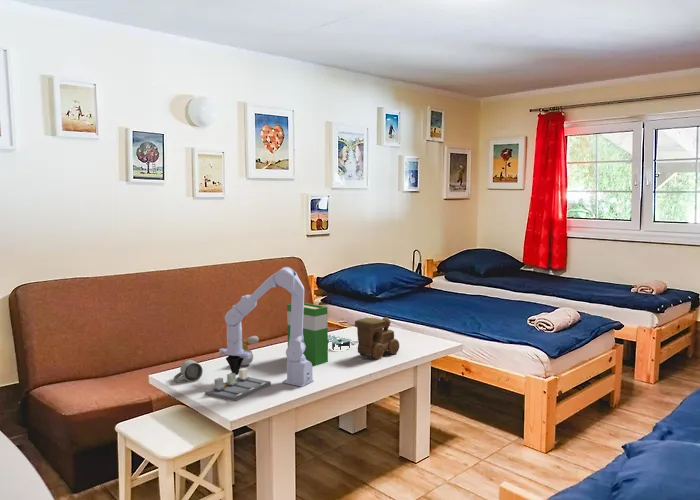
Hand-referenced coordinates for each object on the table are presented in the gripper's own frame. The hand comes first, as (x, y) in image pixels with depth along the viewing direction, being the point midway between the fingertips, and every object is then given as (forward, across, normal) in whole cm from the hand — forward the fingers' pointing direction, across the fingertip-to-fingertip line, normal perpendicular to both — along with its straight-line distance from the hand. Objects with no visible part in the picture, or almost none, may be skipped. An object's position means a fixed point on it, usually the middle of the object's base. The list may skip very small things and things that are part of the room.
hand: (235, 374), depth 214 cm
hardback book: (+3, -8, -37) cm, 38 cm away
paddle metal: (+1, -4, +13) cm, 14 cm away
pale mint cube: (+1, -4, +6) cm, 8 cm away
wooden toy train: (+3, -31, -59) cm, 67 cm away
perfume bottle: (+3, +11, -19) cm, 22 cm away
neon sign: (+3, -7, -70) cm, 70 cm away
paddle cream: (+1, -4, 0) cm, 4 cm away
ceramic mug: (+3, +18, +8) cm, 19 cm away
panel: (+3, -7, +6) cm, 10 cm away
